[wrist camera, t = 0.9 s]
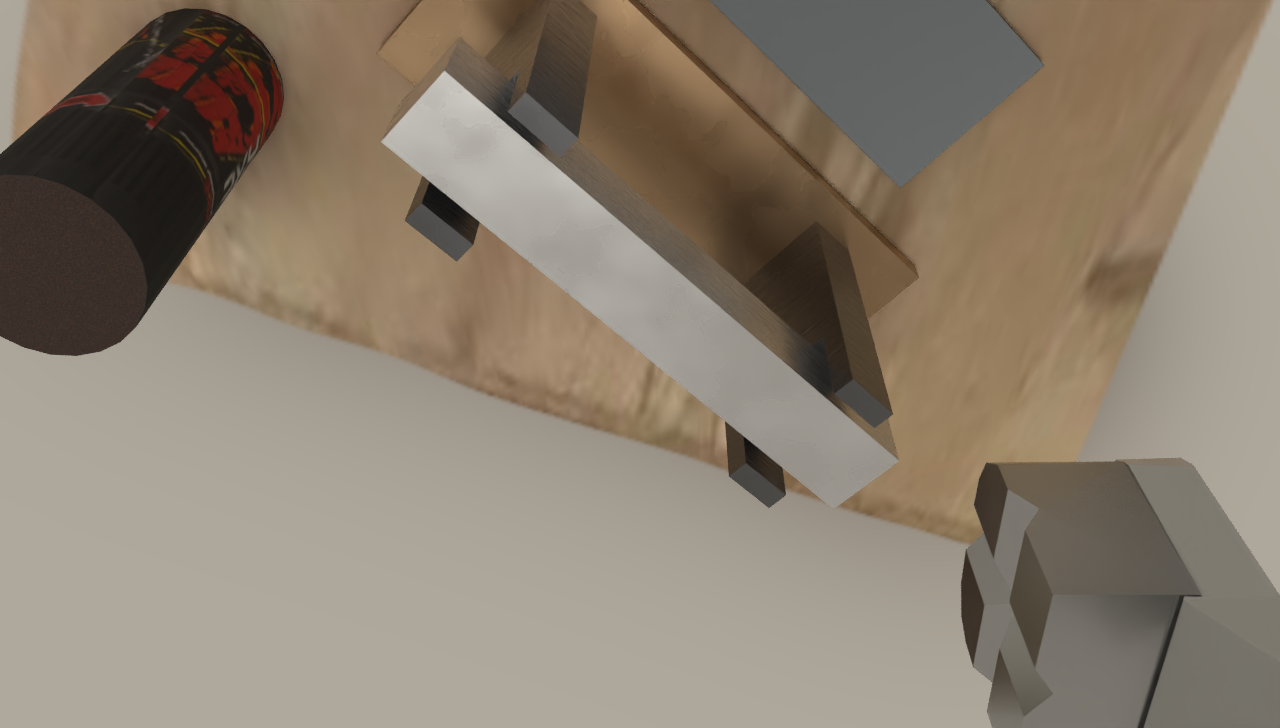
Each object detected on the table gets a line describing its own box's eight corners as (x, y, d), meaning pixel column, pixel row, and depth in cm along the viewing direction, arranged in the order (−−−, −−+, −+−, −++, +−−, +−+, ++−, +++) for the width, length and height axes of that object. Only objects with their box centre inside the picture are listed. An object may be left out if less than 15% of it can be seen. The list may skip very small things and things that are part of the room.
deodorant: (282, 166, 49) (151, 370, 37) (132, 140, 49) (-52, 338, 36) (285, 24, 46) (143, 194, 34) (125, -6, 46) (-79, 157, 33)
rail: (399, 104, 38) (380, 141, 36) (459, 36, 37) (444, 70, 35) (824, 457, 46) (833, 508, 43) (885, 410, 45) (899, 460, 42)
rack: (517, -114, 43) (470, -13, 33) (914, 266, 51) (978, 444, 41) (381, 45, 47) (299, 183, 36) (775, 378, 55) (801, 570, 44)
